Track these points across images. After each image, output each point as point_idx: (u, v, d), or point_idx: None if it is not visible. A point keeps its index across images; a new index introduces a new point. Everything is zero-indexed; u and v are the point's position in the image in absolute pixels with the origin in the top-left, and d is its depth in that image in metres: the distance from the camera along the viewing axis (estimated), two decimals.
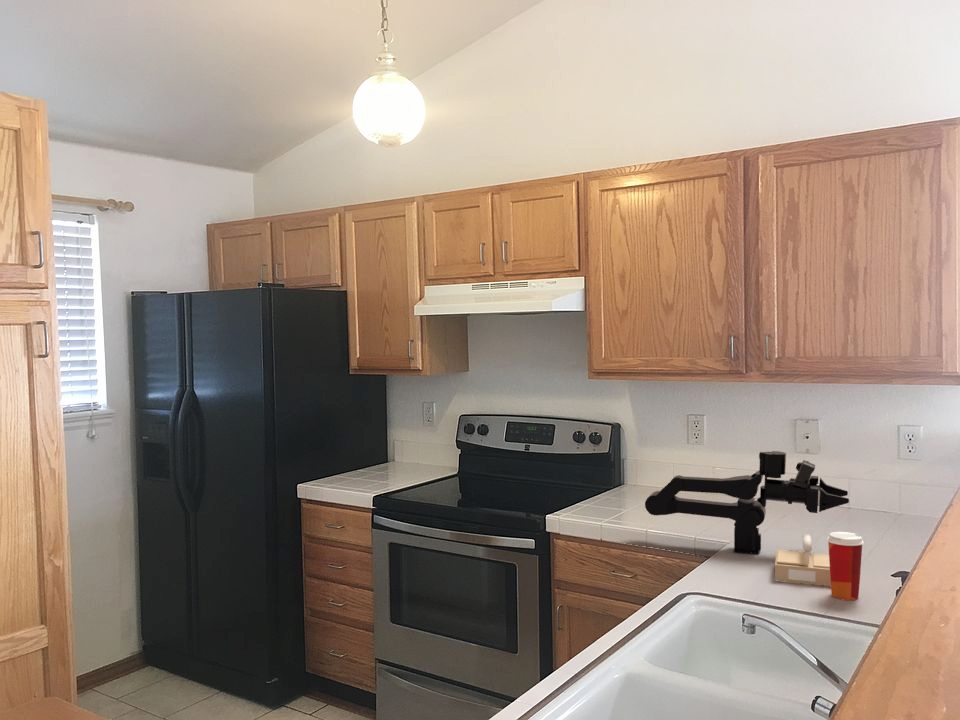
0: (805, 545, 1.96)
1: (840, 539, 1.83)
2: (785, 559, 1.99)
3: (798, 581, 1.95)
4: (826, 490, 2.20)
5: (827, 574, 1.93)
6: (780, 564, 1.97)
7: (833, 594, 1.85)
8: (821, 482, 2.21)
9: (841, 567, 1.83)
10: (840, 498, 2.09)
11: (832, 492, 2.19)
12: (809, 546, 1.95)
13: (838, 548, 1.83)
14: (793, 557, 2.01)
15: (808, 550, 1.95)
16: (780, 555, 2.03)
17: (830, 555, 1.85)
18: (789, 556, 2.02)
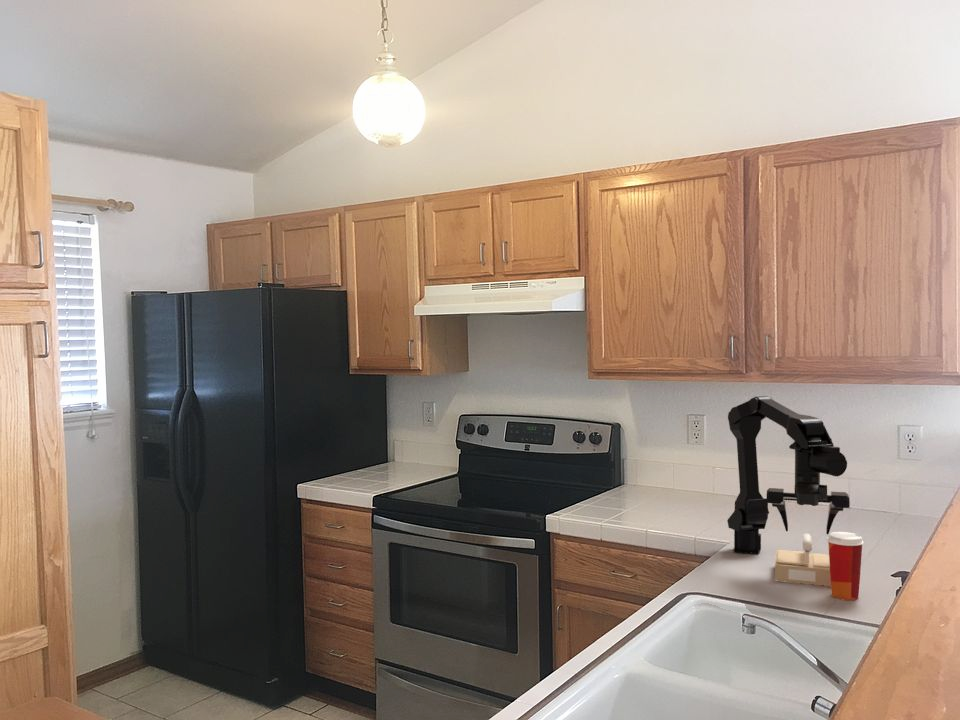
0: (805, 545, 1.96)
1: (840, 539, 1.83)
2: (785, 559, 1.99)
3: (798, 581, 1.95)
4: (828, 513, 1.98)
5: (827, 574, 1.93)
6: (780, 564, 1.97)
7: (833, 594, 1.85)
8: (830, 509, 1.96)
9: (841, 567, 1.83)
10: None
11: None
12: (809, 546, 1.95)
13: (838, 548, 1.83)
14: (793, 557, 2.01)
15: (808, 550, 1.95)
16: (780, 555, 2.03)
17: (830, 555, 1.85)
18: (789, 556, 2.02)
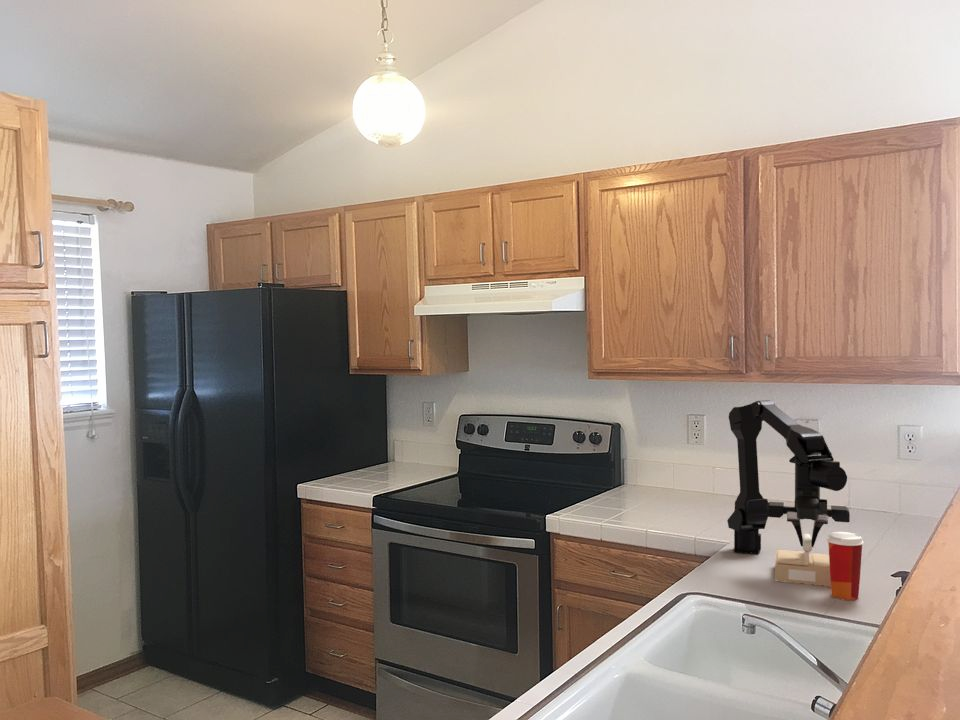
0: (805, 545, 1.96)
1: (840, 539, 1.83)
2: (785, 559, 1.99)
3: (798, 581, 1.95)
4: (813, 526, 2.00)
5: (827, 574, 1.93)
6: (780, 564, 1.97)
7: (833, 594, 1.85)
8: (814, 522, 1.98)
9: (841, 567, 1.83)
10: None
11: None
12: (809, 546, 1.95)
13: (838, 548, 1.83)
14: (793, 557, 2.01)
15: (808, 550, 1.95)
16: (780, 555, 2.03)
17: (830, 555, 1.85)
18: (789, 556, 2.02)
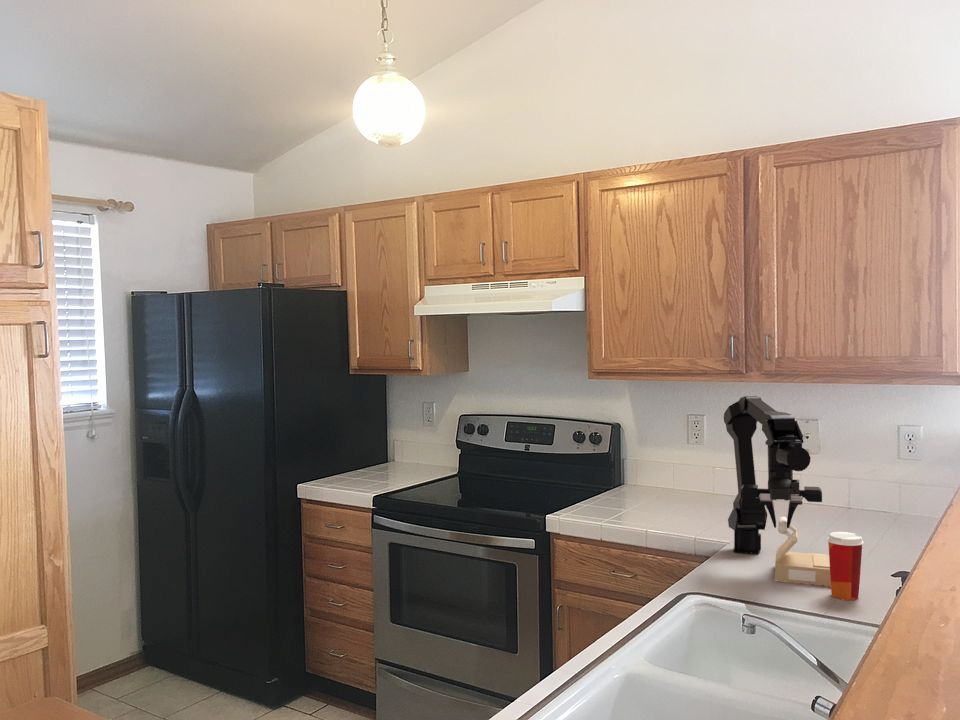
0: (779, 529, 1.98)
1: (840, 539, 1.83)
2: (781, 552, 2.00)
3: (798, 581, 1.95)
4: None
5: (827, 574, 1.93)
6: (780, 564, 1.97)
7: (833, 594, 1.85)
8: (789, 503, 1.99)
9: (841, 567, 1.83)
10: None
11: None
12: (782, 527, 1.97)
13: (838, 548, 1.83)
14: (786, 545, 2.01)
15: (785, 530, 1.97)
16: (778, 552, 2.03)
17: (830, 555, 1.85)
18: (784, 547, 2.02)
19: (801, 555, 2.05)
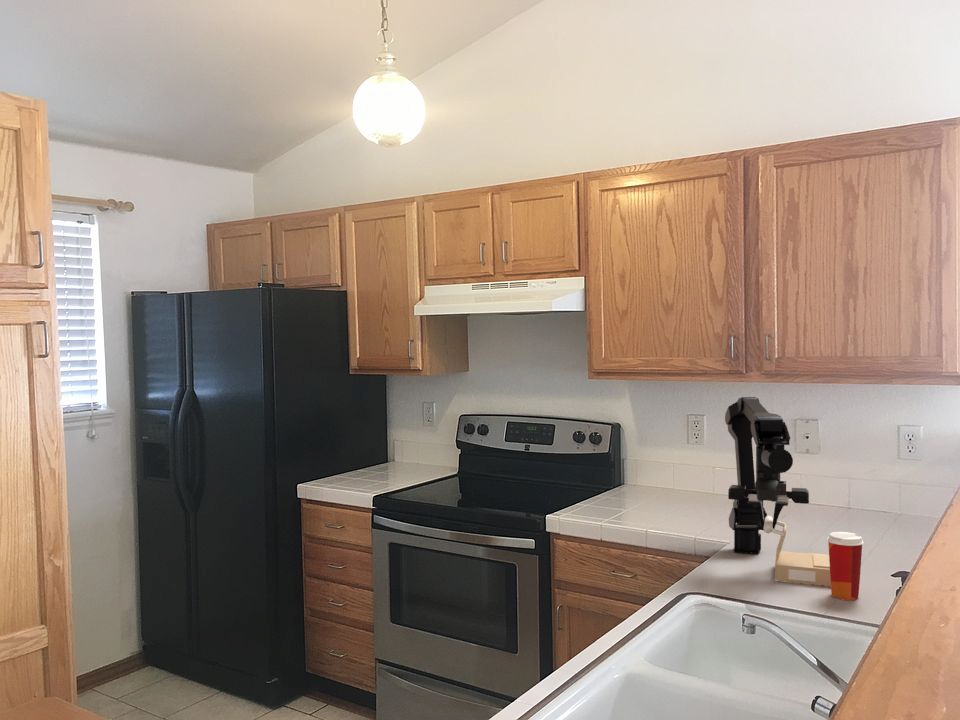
0: (764, 530, 1.99)
1: (840, 539, 1.83)
2: (778, 551, 2.00)
3: (798, 581, 1.95)
4: None
5: (827, 574, 1.93)
6: (780, 564, 1.97)
7: (833, 594, 1.85)
8: (775, 504, 2.01)
9: (841, 567, 1.83)
10: (759, 520, 2.04)
11: None
12: (766, 526, 1.99)
13: (838, 548, 1.83)
14: (780, 541, 2.02)
15: (770, 529, 1.98)
16: (776, 552, 2.03)
17: (830, 555, 1.85)
18: (779, 544, 2.03)
19: (801, 555, 2.05)
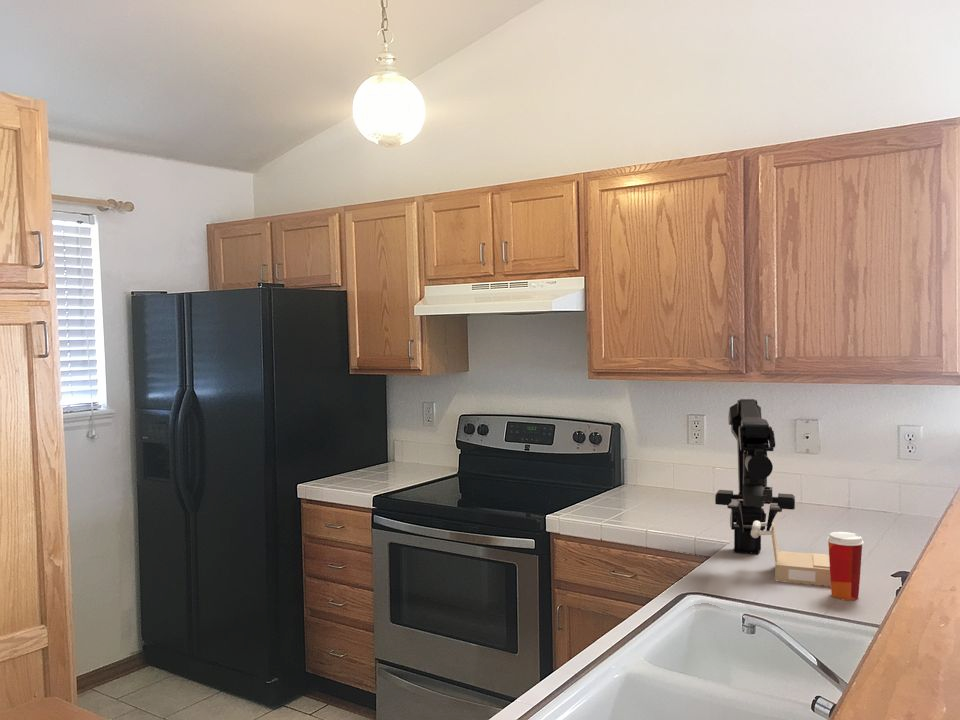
0: (752, 535, 2.00)
1: (840, 539, 1.83)
2: None
3: (798, 581, 1.95)
4: None
5: (827, 574, 1.93)
6: (780, 564, 1.97)
7: (833, 594, 1.85)
8: (769, 510, 2.01)
9: (841, 567, 1.83)
10: None
11: None
12: (753, 532, 2.00)
13: (838, 548, 1.83)
14: None
15: (757, 532, 2.00)
16: None
17: (830, 555, 1.85)
18: None
19: (801, 555, 2.05)
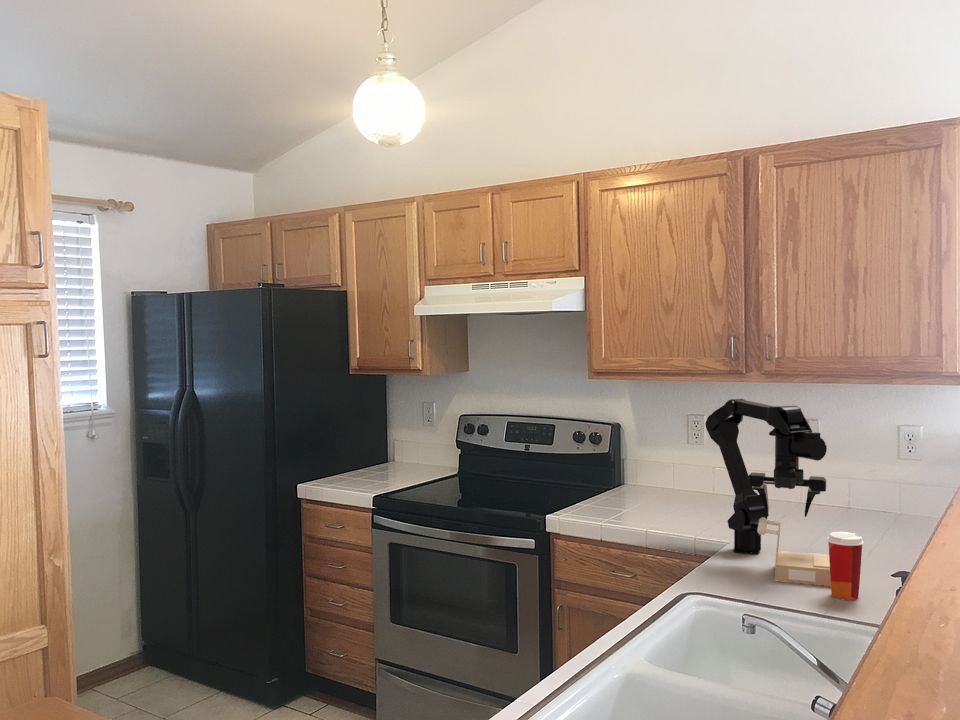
0: (759, 532, 1.99)
1: (840, 539, 1.83)
2: None
3: (798, 581, 1.95)
4: None
5: (827, 574, 1.93)
6: (780, 564, 1.97)
7: (833, 594, 1.85)
8: (807, 493, 2.06)
9: (841, 567, 1.83)
10: None
11: None
12: (760, 528, 1.99)
13: (838, 548, 1.83)
14: None
15: (764, 530, 1.99)
16: None
17: (830, 555, 1.85)
18: None
19: (801, 555, 2.05)
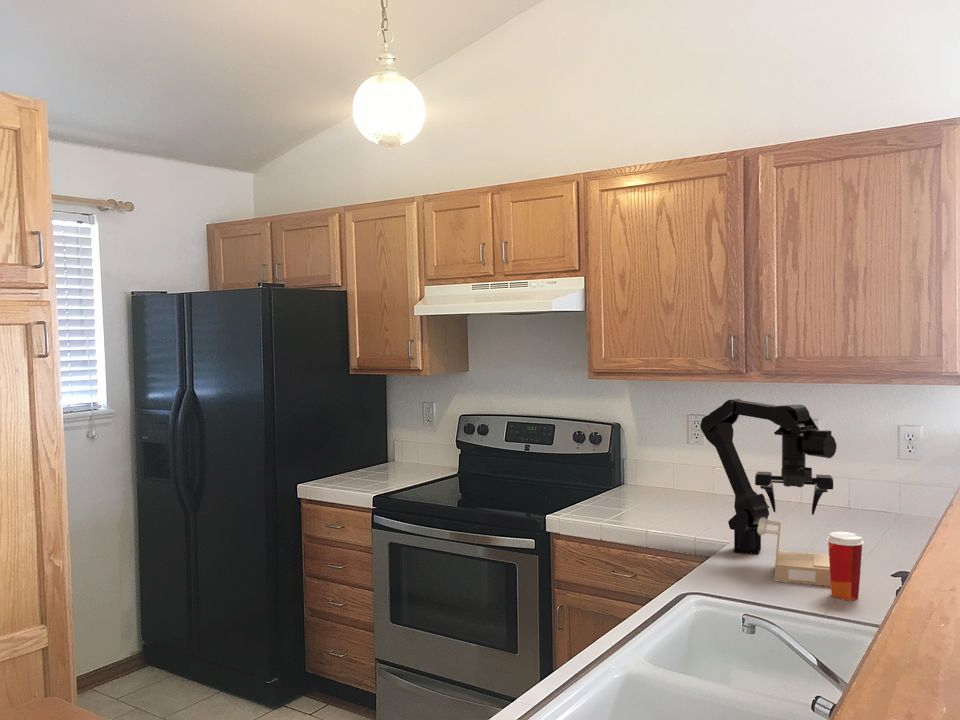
0: (759, 532, 1.99)
1: (840, 539, 1.83)
2: None
3: (798, 581, 1.95)
4: None
5: (827, 574, 1.93)
6: (780, 564, 1.97)
7: (833, 594, 1.85)
8: (815, 491, 2.07)
9: (841, 567, 1.83)
10: (771, 504, 2.13)
11: None
12: (760, 528, 1.99)
13: (838, 548, 1.83)
14: None
15: (764, 530, 1.99)
16: None
17: (830, 555, 1.85)
18: None
19: (801, 555, 2.05)
